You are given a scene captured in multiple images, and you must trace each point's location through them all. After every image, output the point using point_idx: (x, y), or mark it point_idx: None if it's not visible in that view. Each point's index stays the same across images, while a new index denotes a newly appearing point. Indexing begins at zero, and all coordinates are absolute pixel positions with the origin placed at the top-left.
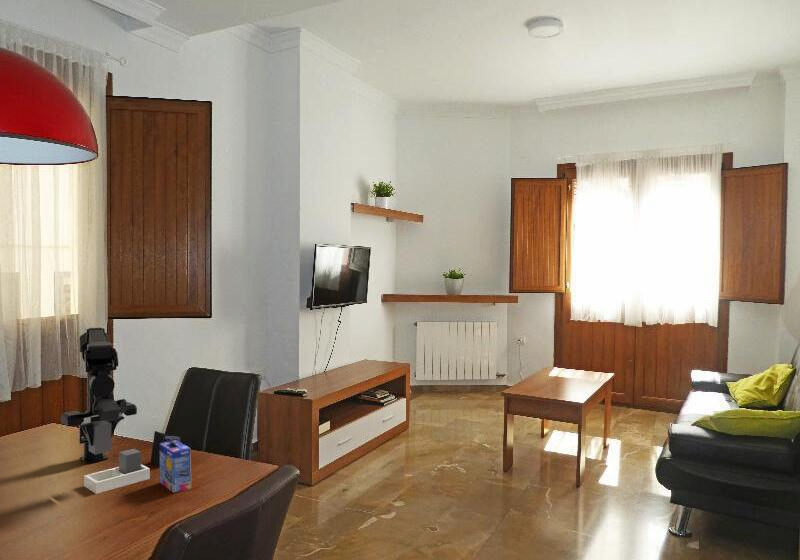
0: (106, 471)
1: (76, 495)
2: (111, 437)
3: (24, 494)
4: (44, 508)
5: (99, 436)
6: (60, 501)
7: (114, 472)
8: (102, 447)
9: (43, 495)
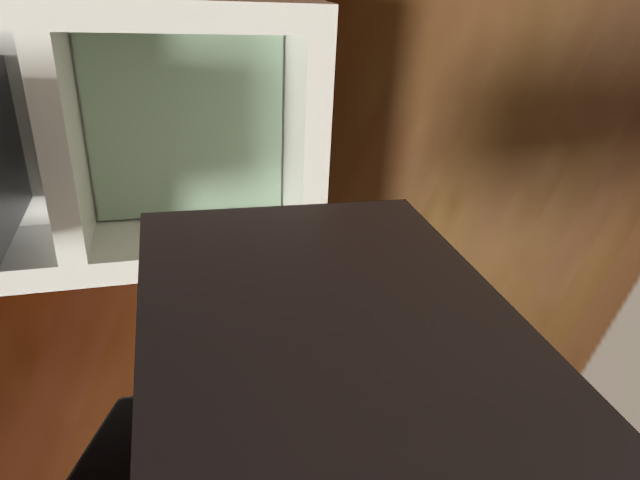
0: (137, 256)
1: (396, 116)
2: (87, 459)
3: (544, 328)
4: (616, 40)
5: (494, 401)
6: (507, 85)
7: (78, 193)
8: (317, 250)
9: (505, 255)
